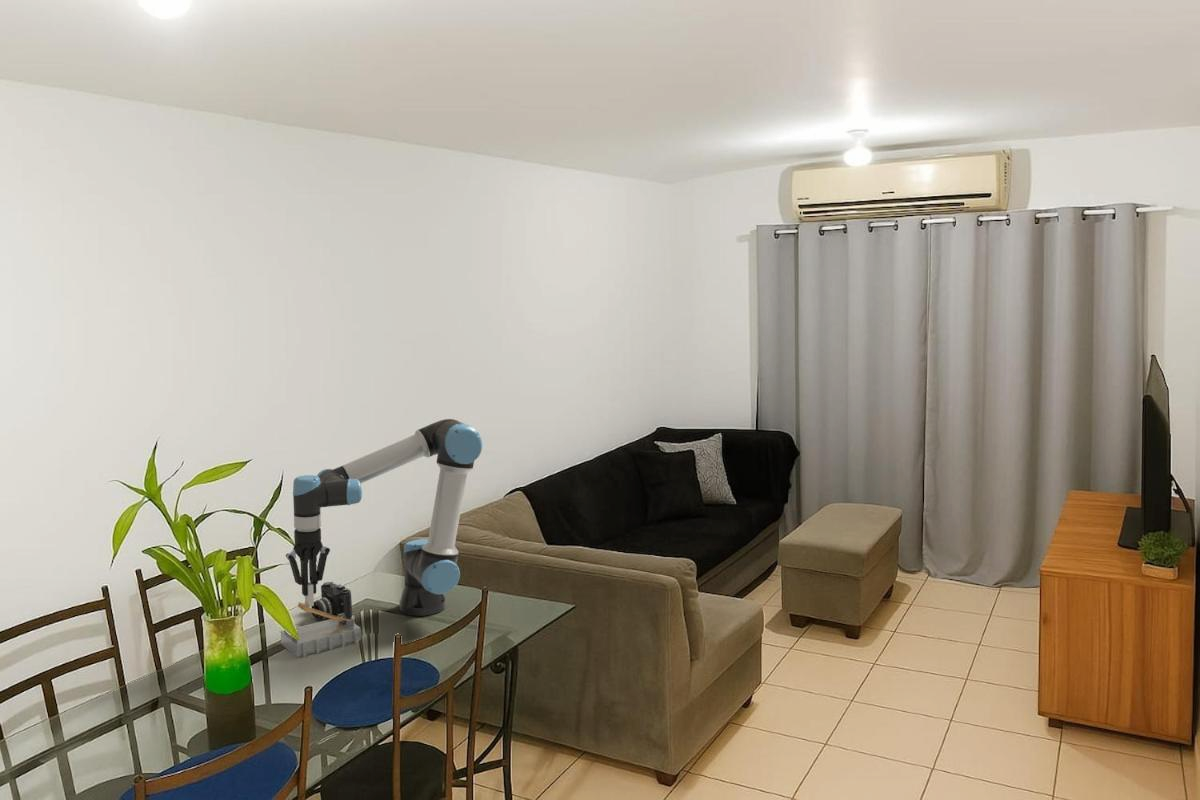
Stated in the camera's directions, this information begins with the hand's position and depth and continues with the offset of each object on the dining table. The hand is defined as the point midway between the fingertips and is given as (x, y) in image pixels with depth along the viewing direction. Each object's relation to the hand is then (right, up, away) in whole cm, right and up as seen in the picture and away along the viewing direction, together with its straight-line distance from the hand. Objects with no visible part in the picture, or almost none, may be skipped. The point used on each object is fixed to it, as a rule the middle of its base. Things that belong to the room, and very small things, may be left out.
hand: (309, 604), depth 277 cm
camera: (-1, -9, +24) cm, 26 cm away
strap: (+3, -4, +4) cm, 6 cm away
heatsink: (+2, -12, +4) cm, 13 cm away
